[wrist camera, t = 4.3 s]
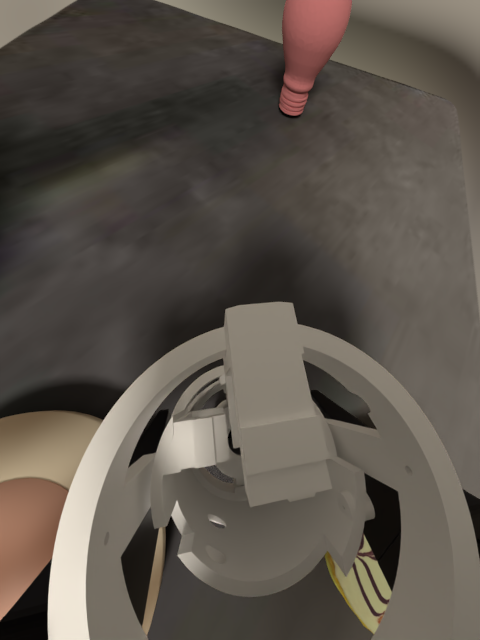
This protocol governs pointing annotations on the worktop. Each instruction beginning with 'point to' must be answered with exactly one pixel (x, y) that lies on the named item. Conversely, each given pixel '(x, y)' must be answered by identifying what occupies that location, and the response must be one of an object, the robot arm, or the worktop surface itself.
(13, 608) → the robot arm
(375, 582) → the decorated donut
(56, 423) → the turntable
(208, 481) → the strainer
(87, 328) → the worktop surface
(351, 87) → the worktop surface
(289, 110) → the light bulb
